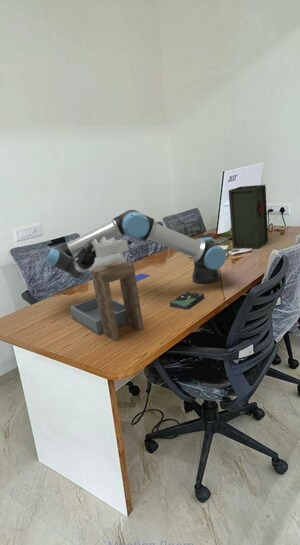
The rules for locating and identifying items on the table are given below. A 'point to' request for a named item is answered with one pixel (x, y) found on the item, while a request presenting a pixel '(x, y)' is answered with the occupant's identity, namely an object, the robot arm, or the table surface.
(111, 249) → the t handle
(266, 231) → the first aid box
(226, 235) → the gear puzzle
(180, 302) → the disk drive
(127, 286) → the bridge
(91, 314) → the tray
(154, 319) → the table surface
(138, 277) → the hard drive
